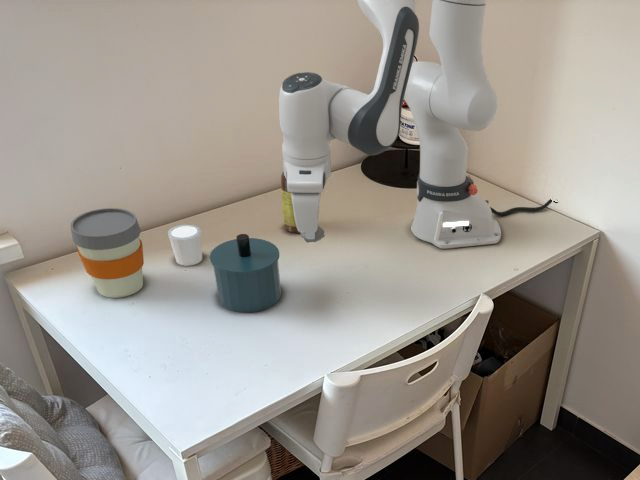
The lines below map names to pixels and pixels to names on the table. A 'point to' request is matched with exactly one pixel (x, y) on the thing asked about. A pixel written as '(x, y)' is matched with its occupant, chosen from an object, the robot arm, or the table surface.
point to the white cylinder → (186, 244)
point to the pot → (249, 289)
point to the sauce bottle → (287, 207)
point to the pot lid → (244, 255)
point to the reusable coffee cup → (110, 250)
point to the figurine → (318, 235)
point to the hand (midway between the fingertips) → (311, 230)
